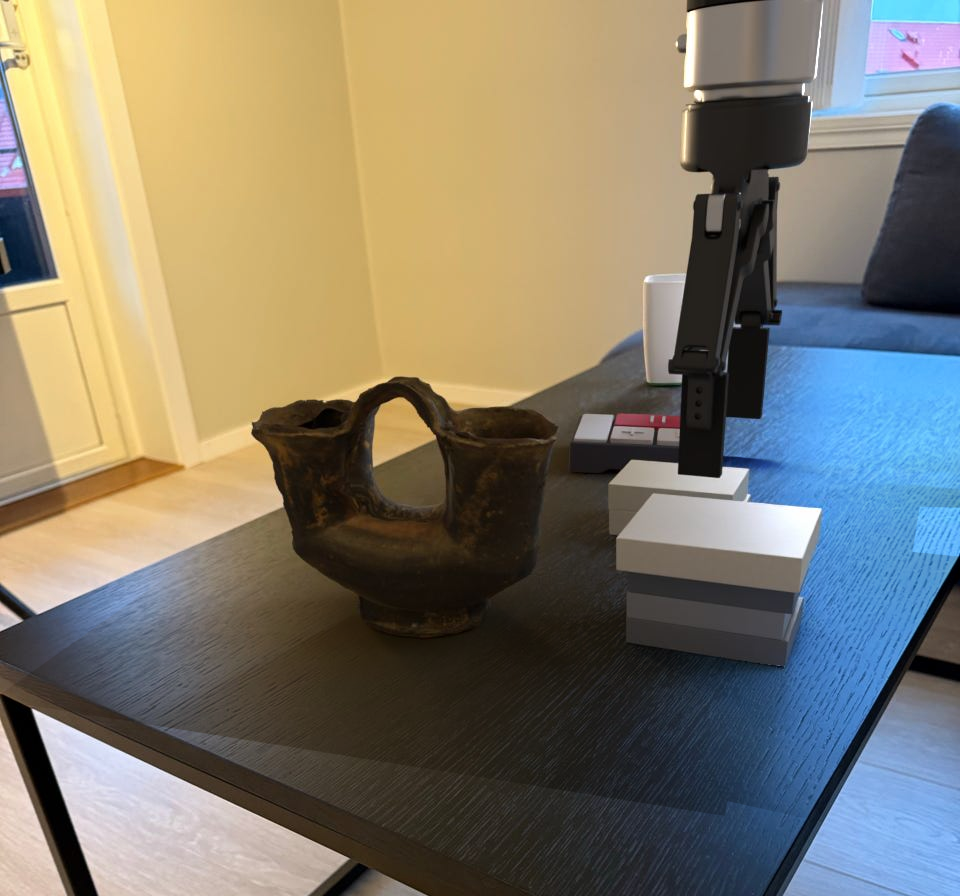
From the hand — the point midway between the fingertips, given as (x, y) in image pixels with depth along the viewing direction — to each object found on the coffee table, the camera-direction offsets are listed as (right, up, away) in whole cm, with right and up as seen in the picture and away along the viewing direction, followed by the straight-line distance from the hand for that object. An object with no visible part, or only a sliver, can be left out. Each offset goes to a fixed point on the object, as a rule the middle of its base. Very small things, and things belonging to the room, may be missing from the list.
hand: (723, 443), depth 65 cm
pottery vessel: (-22, -12, +14) cm, 29 cm away
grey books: (+1, -13, +7) cm, 15 cm away
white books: (+3, -3, +26) cm, 26 cm away
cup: (+11, +25, +75) cm, 79 cm away
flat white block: (+1, -7, +4) cm, 9 cm away
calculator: (+2, +8, +45) cm, 46 cm away
